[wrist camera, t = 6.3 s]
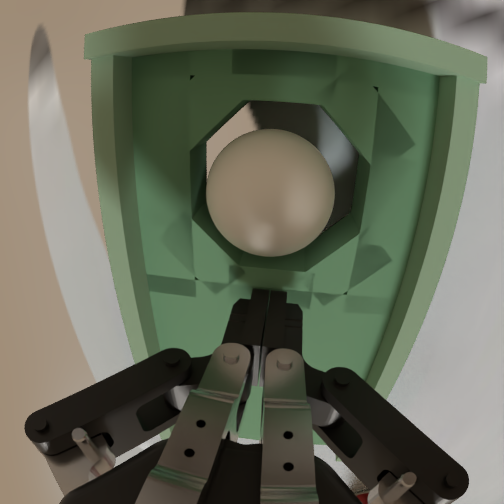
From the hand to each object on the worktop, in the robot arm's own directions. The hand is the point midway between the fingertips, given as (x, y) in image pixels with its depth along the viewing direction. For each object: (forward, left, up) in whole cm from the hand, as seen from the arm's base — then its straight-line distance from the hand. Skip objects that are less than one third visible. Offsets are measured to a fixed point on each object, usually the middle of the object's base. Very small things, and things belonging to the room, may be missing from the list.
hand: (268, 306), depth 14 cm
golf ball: (-4, -3, -1) cm, 5 cm away
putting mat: (+1, +1, -3) cm, 3 cm away
